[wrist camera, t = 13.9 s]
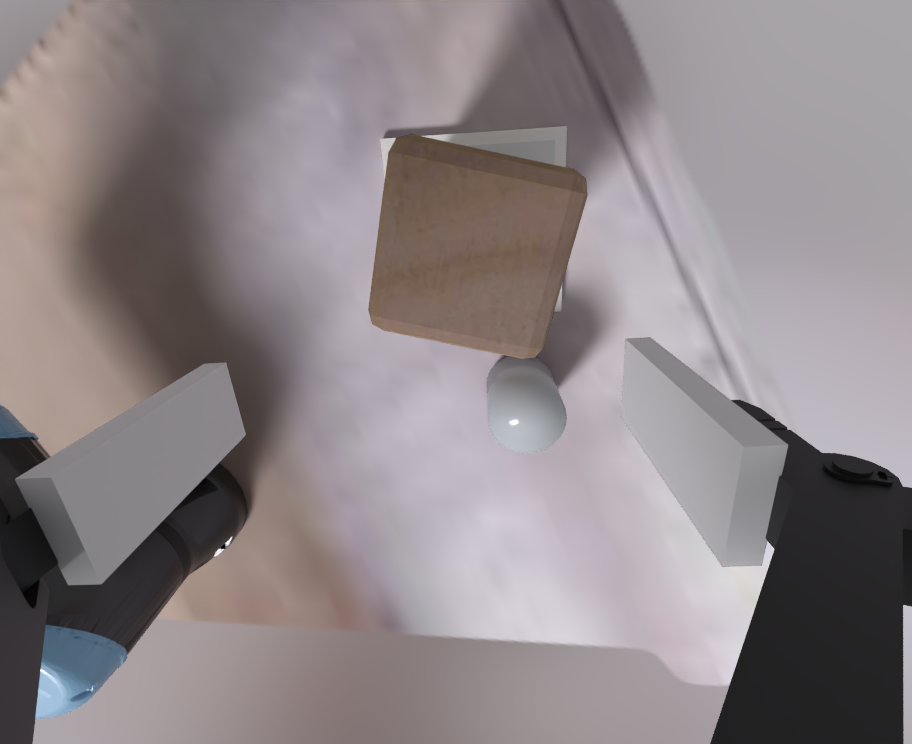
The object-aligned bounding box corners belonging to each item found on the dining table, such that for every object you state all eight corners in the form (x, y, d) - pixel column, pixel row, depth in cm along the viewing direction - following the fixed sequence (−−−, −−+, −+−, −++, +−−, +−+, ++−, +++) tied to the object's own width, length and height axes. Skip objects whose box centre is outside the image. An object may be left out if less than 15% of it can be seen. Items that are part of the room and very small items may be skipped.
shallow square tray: (400, 316, 45) (398, 318, 44) (382, 139, 39) (380, 138, 39) (560, 309, 44) (561, 311, 43) (565, 127, 38) (567, 125, 38)
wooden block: (431, 160, 39) (387, 126, 20) (542, 184, 39) (598, 172, 21) (413, 273, 43) (361, 331, 24) (515, 294, 43) (541, 368, 24)
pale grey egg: (487, 415, 49) (488, 454, 42) (485, 354, 46) (486, 384, 39) (552, 413, 48) (565, 452, 41) (553, 352, 46) (567, 382, 38)
